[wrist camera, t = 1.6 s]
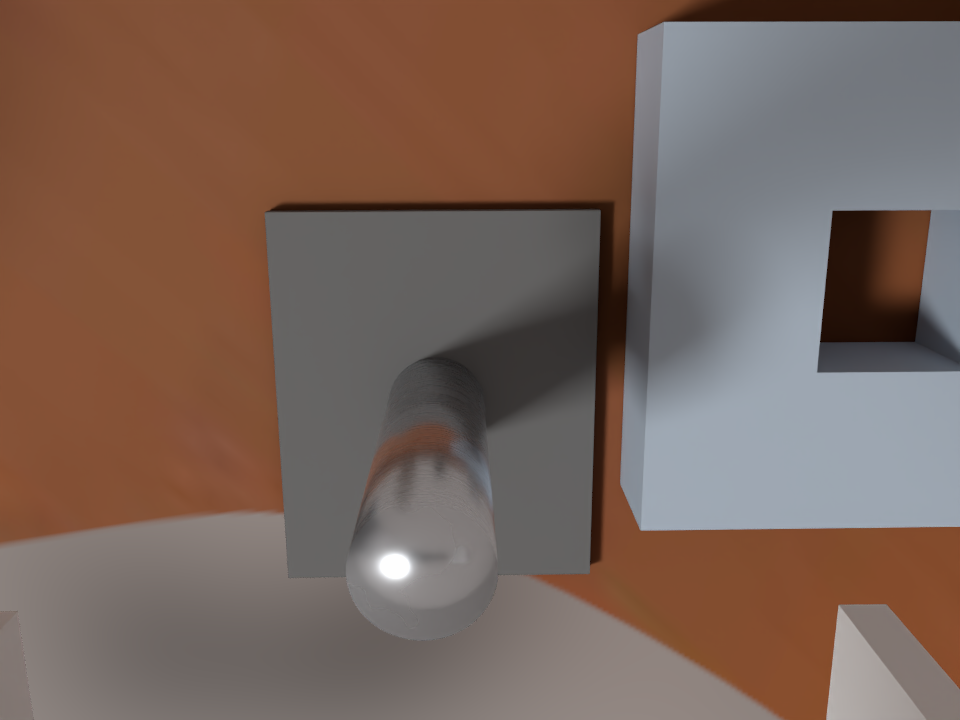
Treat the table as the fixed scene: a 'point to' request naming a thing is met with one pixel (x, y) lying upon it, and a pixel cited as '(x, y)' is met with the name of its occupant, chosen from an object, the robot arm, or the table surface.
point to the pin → (427, 509)
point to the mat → (442, 334)
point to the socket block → (788, 277)
